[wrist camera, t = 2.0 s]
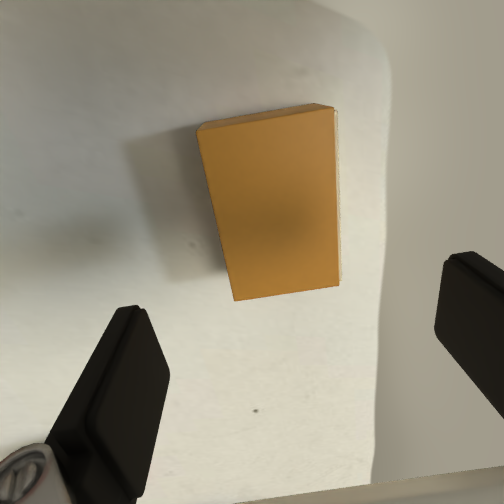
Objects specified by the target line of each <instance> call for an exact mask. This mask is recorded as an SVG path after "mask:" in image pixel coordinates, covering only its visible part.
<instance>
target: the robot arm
mask: <svg viewBox="0 0 504 504" xmlns="http://www.w3.org/2000/svg"><path fill="white" fill-rule="evenodd" d="M434 330H435V334H436V336H437V338H438V340H439V341H440V342H441V343H442V344H443V345H444V347H445V348H446V349H447V351H448V352H449V353H450V354H451V355H452V357H453V358H454V359H455V360H456V362H457V363H458V364H459V365H460V366H461V368H462V369H463V370H464V371H465V372H466V374H467V375H468V376H469V377H470V378H471V380H472V381H473V382H474V383H475V385H476V386H477V387H478V388H479V389H480V391H481V392H482V393H483V394H484V396H485V397H486V398H487V399H488V400H489V402H490V403H491V404H492V405H493V406H494V408H495V409H496V410H497V411H498V413H499V414H500V415H501V416H502V417H503V419H504V271H503V270H502V269H500V268H498V267H497V266H496V265H494V264H493V263H491V262H490V261H488V260H487V259H485V258H483V257H482V256H480V255H479V254H477V253H475V252H474V251H469V252H463V253H457V254H452V255H450V257H449V258H448V260H446V261H445V262H444V265H443V271H442V277H441V284H440V291H439V298H438V306H437V312H436V318H435V325H434ZM169 380H170V371H169V367H168V365H167V362H166V360H165V357H164V355H163V352H162V349H161V347H160V344H159V342H158V339H157V337H156V334H155V332H154V329H153V327H152V324H151V322H150V319H149V317H148V314H147V312H146V310H145V309H140V307H139V306H138V305H132V306H126V307H120V308H118V309H117V310H116V311H115V313H114V315H113V317H112V319H111V321H110V322H109V324H108V326H107V328H106V330H105V332H104V333H103V335H102V337H101V339H100V341H99V343H98V344H97V346H96V348H95V350H94V352H93V354H92V355H91V357H90V359H89V361H88V363H87V365H86V366H85V368H84V370H83V372H82V374H81V376H80V377H79V379H78V381H77V383H76V385H75V387H74V389H73V390H72V392H71V394H70V396H69V398H68V400H67V401H66V403H65V405H64V407H63V409H62V411H61V412H60V414H59V416H58V418H57V420H56V422H55V423H54V425H53V427H52V429H51V431H50V433H49V435H48V437H47V439H46V441H45V442H44V443H33V444H30V445H27V446H24V447H22V448H20V449H18V450H16V451H15V452H13V453H11V454H10V455H9V456H7V457H6V458H5V459H3V460H2V461H1V462H0V504H136V501H137V498H139V497H141V496H142V495H143V493H144V490H145V486H146V482H147V477H148V473H149V468H150V464H151V460H152V455H153V451H154V446H155V442H156V438H157V433H158V429H159V424H160V420H161V416H162V411H163V407H164V402H165V398H166V394H167V389H168V385H169ZM235 504H504V466H498V467H491V468H484V469H476V470H469V471H461V472H454V473H447V474H439V475H432V476H425V477H417V478H410V479H403V480H396V481H389V482H382V483H374V484H367V485H360V486H353V487H346V488H339V489H332V490H325V491H318V492H311V493H303V494H296V495H290V496H283V497H276V498H269V499H262V500H255V501H248V502H242V503H235Z"/></svg>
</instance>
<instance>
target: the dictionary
mask: <svg viewBox="0 0 504 504" xmlns="http://www.w3.org/2000/svg"><path fill="white" fill-rule="evenodd" d="M196 136H197V140H198V145H199V149H200V154H201V158H202V162H203V167H204V171H205V175H206V180H207V184H208V189H209V193H210V197H211V202H212V206H213V210H214V215H215V219H216V223H217V228H218V232H219V237H220V241H221V245H222V250H223V254H224V258H225V263H226V267H227V272H228V276H229V280H230V285H231V289H232V293H233V298H234V301H242V300H248V299H255V298H261V297H268V296H274V295H281V294H288V293H294V292H301V291H307V290H314V289H320V288H327V287H333V286H339V281H342V263H341V225H340V186H339V147H338V111H337V110H334V107H330V106H325V105H320V104H315V103H313V104H307V105H301V106H296V107H290V108H284V109H278V110H273V111H267V112H261V113H256V114H250V115H244V116H239V117H233V118H227V119H221V120H216V121H210V122H205V123H204V124H203V125H202V126H201V127H200V128H199V129H198V130H197V131H196Z"/></svg>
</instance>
